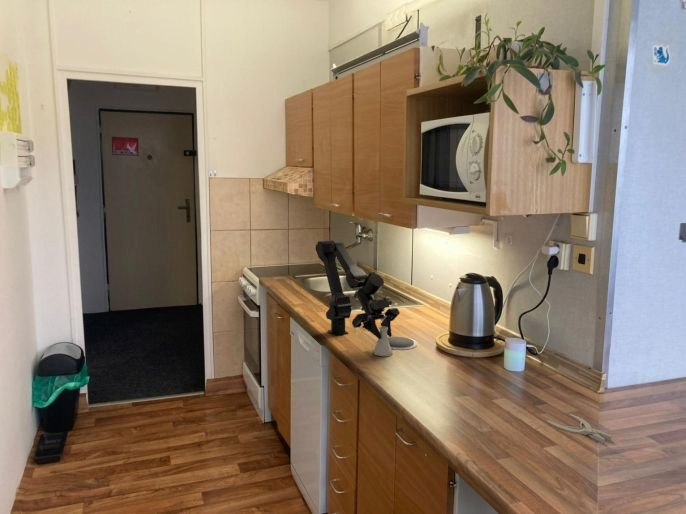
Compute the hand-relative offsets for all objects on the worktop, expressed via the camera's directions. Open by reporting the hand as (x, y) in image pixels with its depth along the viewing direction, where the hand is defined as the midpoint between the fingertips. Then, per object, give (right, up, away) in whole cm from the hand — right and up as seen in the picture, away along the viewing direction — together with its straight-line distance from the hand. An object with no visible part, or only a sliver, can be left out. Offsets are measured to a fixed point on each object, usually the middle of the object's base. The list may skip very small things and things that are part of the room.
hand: (385, 337), depth 204 cm
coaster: (+6, -4, +14) cm, 16 cm away
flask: (-1, -7, +2) cm, 7 cm away
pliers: (+48, -17, -55) cm, 75 cm away
